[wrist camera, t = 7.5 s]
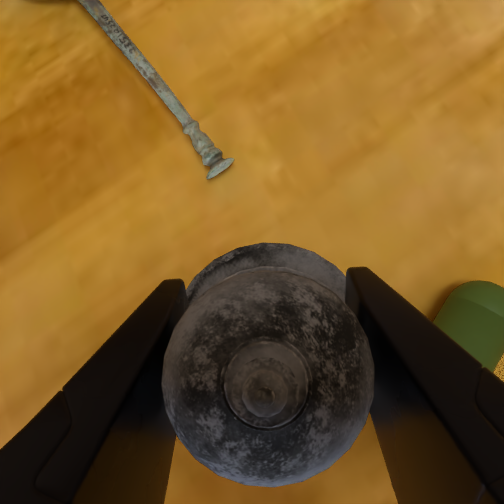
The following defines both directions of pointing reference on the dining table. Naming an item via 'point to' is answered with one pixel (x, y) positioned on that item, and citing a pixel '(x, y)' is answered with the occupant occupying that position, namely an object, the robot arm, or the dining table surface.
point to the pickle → (476, 320)
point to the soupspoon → (159, 88)
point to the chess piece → (268, 367)
